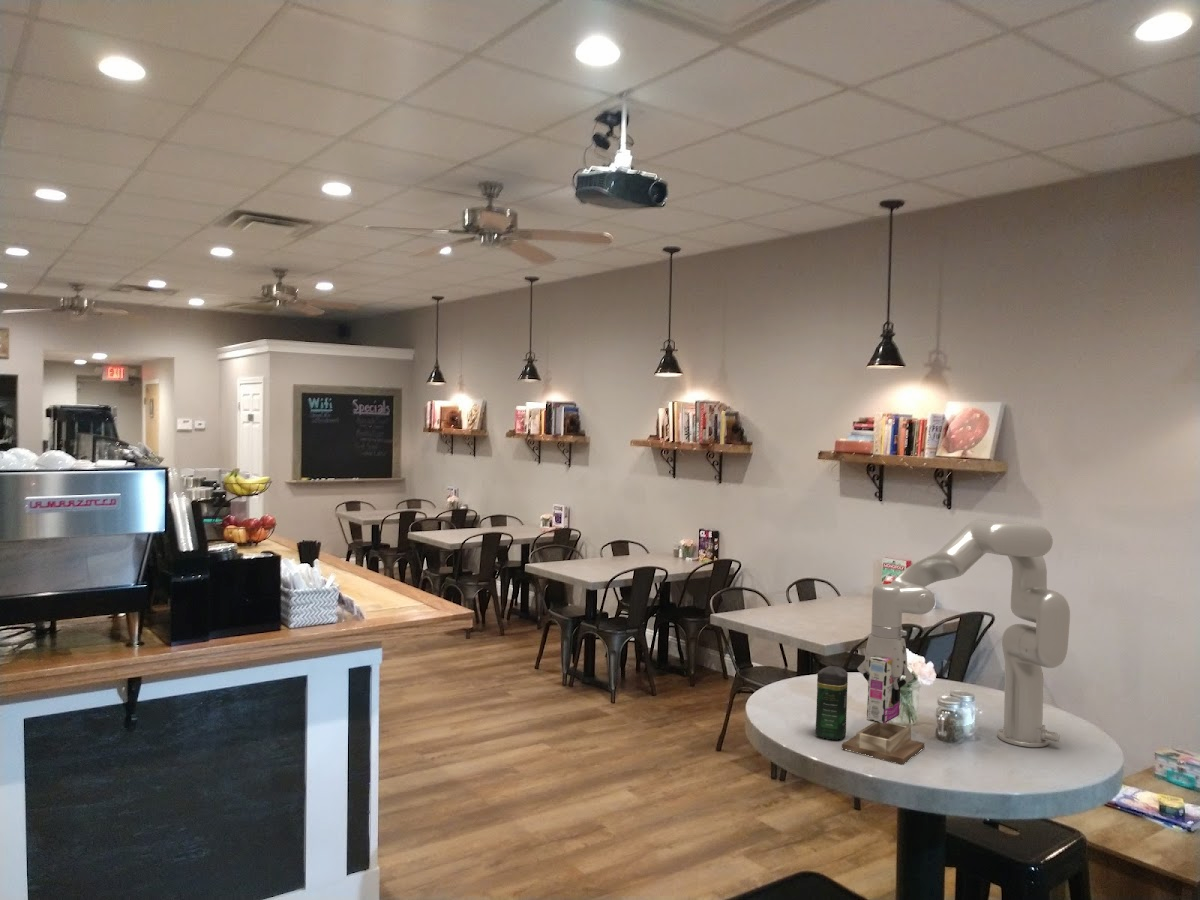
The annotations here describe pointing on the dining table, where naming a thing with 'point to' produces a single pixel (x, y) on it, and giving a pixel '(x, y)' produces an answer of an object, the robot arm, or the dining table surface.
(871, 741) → the stand
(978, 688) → the dining table surface
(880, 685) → the candy bar box
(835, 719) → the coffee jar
